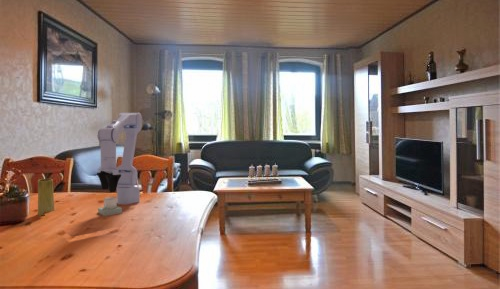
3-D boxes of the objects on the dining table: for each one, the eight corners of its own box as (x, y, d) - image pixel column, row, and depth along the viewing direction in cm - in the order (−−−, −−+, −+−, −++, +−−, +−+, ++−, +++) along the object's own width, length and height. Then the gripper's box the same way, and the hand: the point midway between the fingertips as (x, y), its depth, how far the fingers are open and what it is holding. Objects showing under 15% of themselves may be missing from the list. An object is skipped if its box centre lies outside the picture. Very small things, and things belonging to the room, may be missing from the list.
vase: (46, 216, 128) (45, 181, 127) (33, 215, 129) (32, 180, 128) (58, 212, 134) (57, 178, 133) (45, 211, 135) (45, 178, 134)
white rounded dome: (114, 205, 133) (114, 196, 133) (118, 207, 129) (118, 198, 129) (102, 207, 130) (102, 198, 129) (106, 210, 126) (106, 200, 126)
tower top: (115, 209, 134) (115, 205, 134) (122, 213, 129) (122, 208, 129) (98, 212, 129) (98, 207, 129) (104, 216, 124) (104, 211, 124)
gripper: (91, 156, 131) (92, 189, 132) (105, 159, 121) (105, 194, 121) (109, 155, 136) (109, 187, 137) (123, 158, 126) (123, 192, 126)
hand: (108, 190), depth 129 cm, fingers open, 7 cm apart
